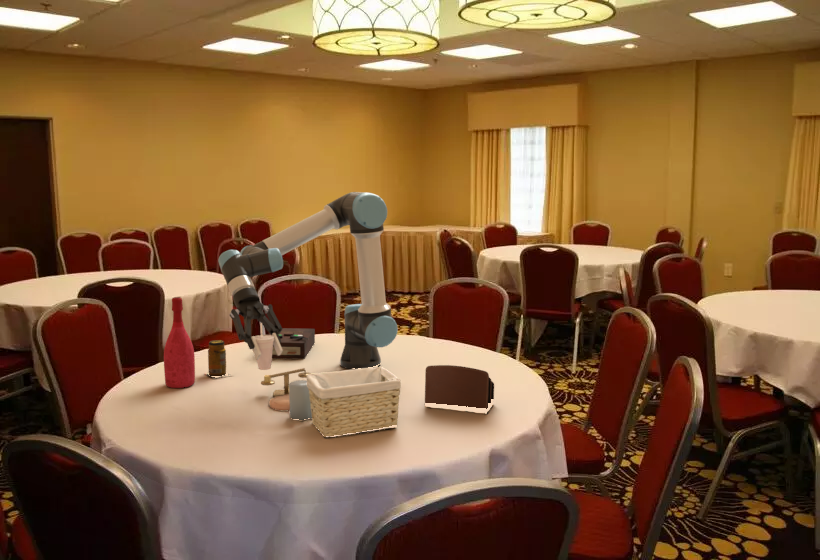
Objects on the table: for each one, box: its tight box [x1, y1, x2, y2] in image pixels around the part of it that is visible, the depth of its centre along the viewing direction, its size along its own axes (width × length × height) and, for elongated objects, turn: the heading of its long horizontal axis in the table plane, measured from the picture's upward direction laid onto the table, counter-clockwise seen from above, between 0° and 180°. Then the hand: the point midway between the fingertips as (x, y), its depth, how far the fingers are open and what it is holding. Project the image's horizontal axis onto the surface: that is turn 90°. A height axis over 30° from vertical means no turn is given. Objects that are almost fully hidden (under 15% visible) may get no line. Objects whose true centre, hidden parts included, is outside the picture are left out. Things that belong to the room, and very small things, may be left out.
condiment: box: [207, 339, 234, 379], centre depth 252 cm, size 7×8×12 cm
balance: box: [260, 367, 312, 398], centre depth 231 cm, size 16×5×9 cm, turn 93°
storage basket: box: [306, 366, 401, 438], centre depth 203 cm, size 24×16×15 cm
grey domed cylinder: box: [289, 379, 312, 421], centre depth 210 cm, size 7×7×10 cm
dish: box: [269, 395, 290, 412], centre depth 222 cm, size 12×12×1 cm
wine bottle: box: [163, 296, 196, 389], centre depth 238 cm, size 10×10×30 cm
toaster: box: [424, 364, 495, 409], centre depth 221 cm, size 10×20×14 cm, turn 72°
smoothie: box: [254, 322, 274, 371], centre depth 215 cm, size 6×6×14 cm
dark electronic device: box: [268, 327, 316, 360], centre depth 288 cm, size 19×8×30 cm
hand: (269, 354), depth 213 cm, fingers closed on smoothie, 6 cm apart
